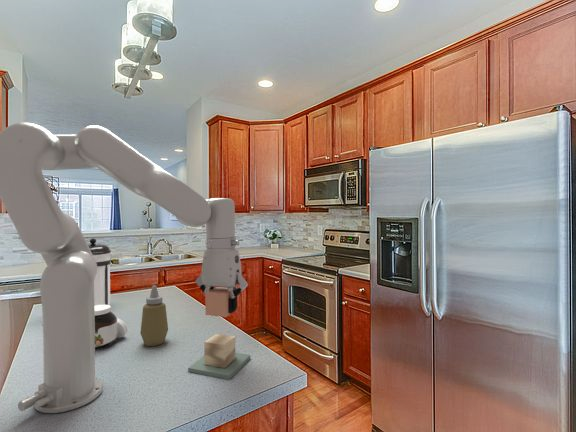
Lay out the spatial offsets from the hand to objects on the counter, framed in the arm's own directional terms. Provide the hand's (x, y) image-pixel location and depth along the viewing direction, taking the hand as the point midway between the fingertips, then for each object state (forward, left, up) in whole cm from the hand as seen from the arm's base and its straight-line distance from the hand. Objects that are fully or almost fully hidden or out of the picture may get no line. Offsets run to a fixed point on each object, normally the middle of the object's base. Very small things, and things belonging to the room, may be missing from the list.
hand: (221, 310), depth 87 cm
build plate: (0, 0, -15) cm, 15 cm away
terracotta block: (0, 0, -1) cm, 1 cm away
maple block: (0, 0, -14) cm, 14 cm away
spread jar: (+1, +42, -15) cm, 45 cm away
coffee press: (+22, +73, -15) cm, 78 cm away
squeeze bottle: (+6, +27, -15) cm, 32 cm away
